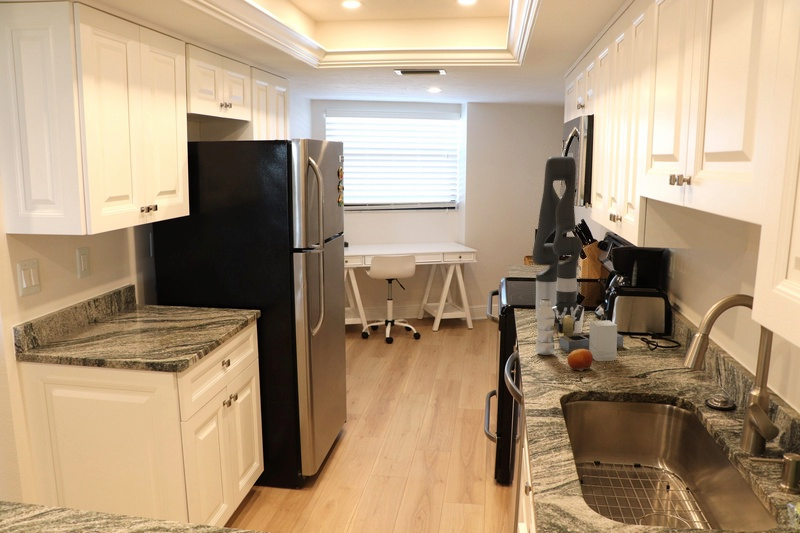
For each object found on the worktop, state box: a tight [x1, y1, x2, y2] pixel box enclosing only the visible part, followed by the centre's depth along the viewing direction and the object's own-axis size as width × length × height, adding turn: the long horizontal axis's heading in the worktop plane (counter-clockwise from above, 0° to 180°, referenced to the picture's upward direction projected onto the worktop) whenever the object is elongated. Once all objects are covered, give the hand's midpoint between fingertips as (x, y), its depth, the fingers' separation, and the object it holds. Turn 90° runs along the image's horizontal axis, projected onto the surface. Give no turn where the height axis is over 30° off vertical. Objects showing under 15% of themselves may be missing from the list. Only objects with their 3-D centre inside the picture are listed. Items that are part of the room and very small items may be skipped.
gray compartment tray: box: [559, 333, 624, 353], centre depth 236 cm, size 7×22×4 cm, turn 103°
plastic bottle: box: [535, 299, 555, 356], centre depth 228 cm, size 6×7×20 cm
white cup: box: [566, 308, 585, 335], centre depth 257 cm, size 8×8×10 cm
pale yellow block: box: [558, 316, 574, 338], centre depth 244 cm, size 4×4×8 cm
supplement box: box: [589, 320, 618, 362], centre depth 222 cm, size 7×7×13 cm
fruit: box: [567, 349, 593, 372], centre depth 212 cm, size 8×8×8 cm
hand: (565, 332), depth 245 cm, fingers closed on pale yellow block, 4 cm apart
